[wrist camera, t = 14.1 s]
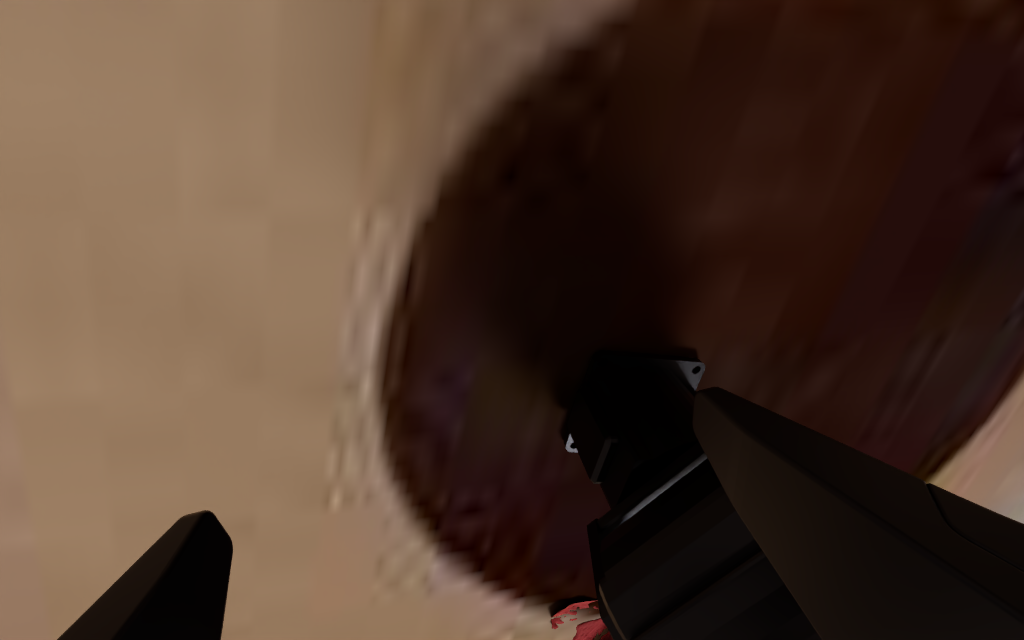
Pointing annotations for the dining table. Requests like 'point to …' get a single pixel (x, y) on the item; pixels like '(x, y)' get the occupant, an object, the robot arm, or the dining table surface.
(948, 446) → the dining table surface
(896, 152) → the dining table surface
